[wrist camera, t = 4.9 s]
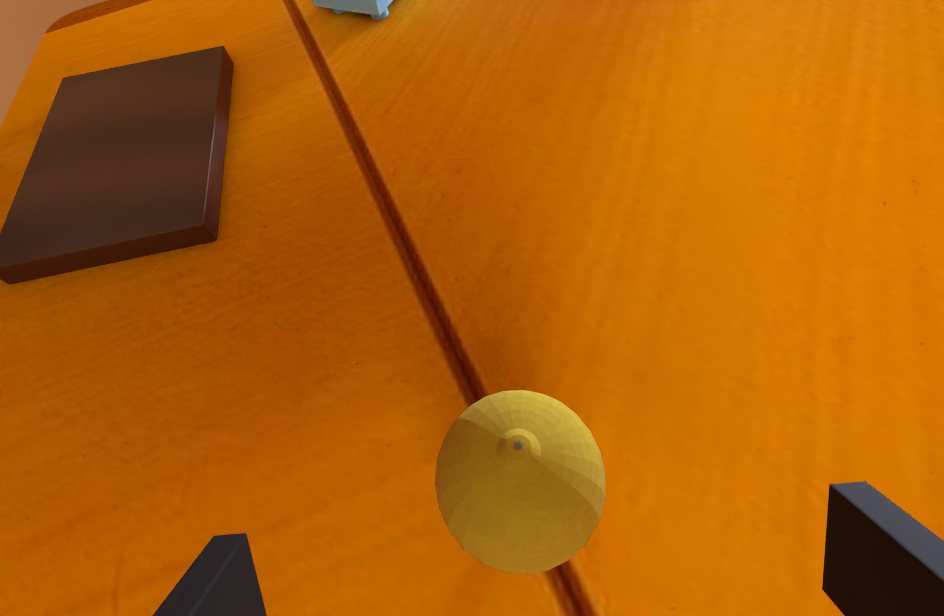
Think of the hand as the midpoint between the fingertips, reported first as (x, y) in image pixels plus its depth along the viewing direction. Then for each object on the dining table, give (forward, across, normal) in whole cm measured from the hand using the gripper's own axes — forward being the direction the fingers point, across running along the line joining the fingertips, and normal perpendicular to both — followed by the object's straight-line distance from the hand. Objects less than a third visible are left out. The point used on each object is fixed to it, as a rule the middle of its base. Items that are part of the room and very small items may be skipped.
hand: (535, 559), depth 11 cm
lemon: (+8, 0, -4) cm, 9 cm away
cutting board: (+25, -23, +13) cm, 36 cm away
